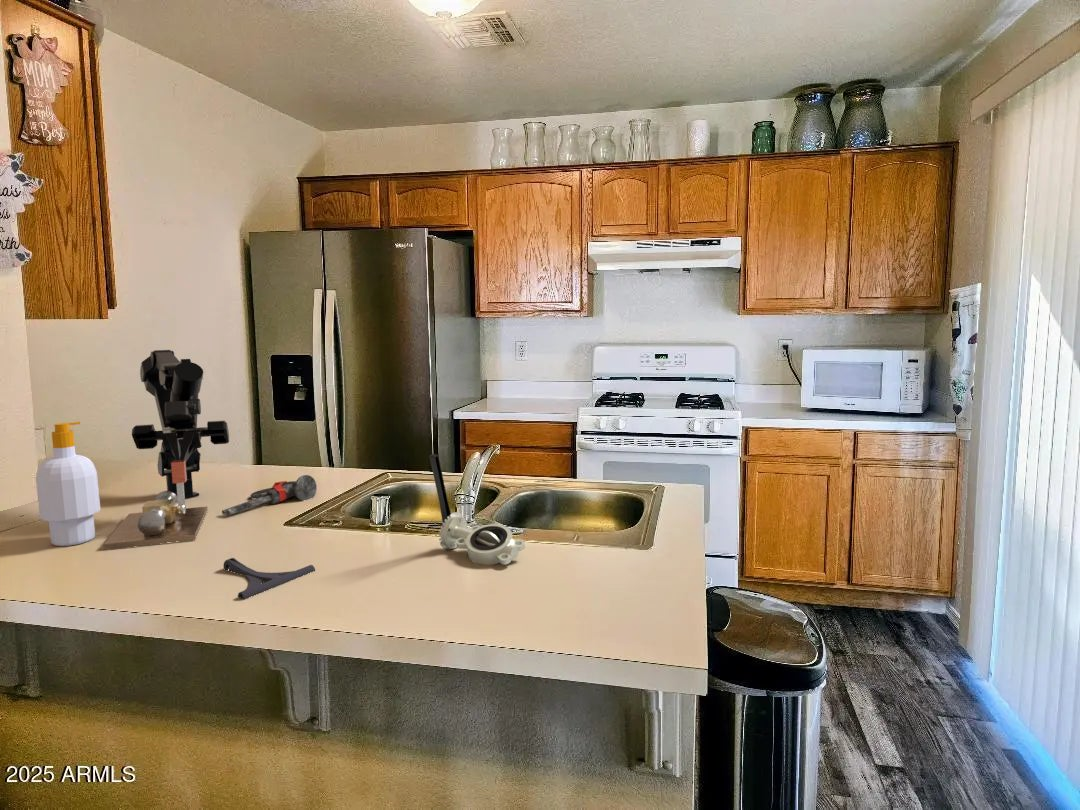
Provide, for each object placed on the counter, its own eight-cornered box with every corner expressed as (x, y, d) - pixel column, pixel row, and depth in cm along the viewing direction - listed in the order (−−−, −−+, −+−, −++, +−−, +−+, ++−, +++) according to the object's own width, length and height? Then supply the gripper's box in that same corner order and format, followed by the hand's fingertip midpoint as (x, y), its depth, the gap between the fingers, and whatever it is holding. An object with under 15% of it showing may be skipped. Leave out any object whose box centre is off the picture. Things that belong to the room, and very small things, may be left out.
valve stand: (129, 518, 155) (127, 492, 154) (207, 511, 160) (205, 485, 160) (104, 550, 135) (101, 519, 134) (195, 540, 140) (192, 510, 139)
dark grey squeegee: (261, 559, 131) (260, 545, 130) (315, 574, 123) (314, 559, 123) (189, 586, 118) (188, 570, 118) (244, 604, 111) (243, 587, 110)
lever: (177, 512, 149) (172, 460, 148) (189, 511, 150) (185, 459, 149) (175, 515, 147) (171, 462, 145) (187, 514, 148) (183, 461, 146)
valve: (290, 494, 183) (330, 493, 176) (202, 525, 161) (243, 525, 153) (285, 471, 183) (325, 468, 175) (196, 499, 160) (237, 497, 153)
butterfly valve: (532, 553, 130) (463, 529, 139) (518, 462, 121) (445, 443, 131) (504, 581, 123) (434, 554, 133) (488, 487, 115) (414, 465, 124)
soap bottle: (110, 540, 140) (98, 423, 137) (49, 553, 133) (36, 430, 130) (95, 529, 147) (84, 418, 144) (37, 541, 140) (24, 424, 137)
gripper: (129, 388, 149) (122, 448, 140) (224, 385, 155) (223, 441, 146) (140, 419, 157) (134, 477, 148) (229, 414, 163) (228, 470, 154)
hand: (180, 466), depth 149 cm, fingers closed
